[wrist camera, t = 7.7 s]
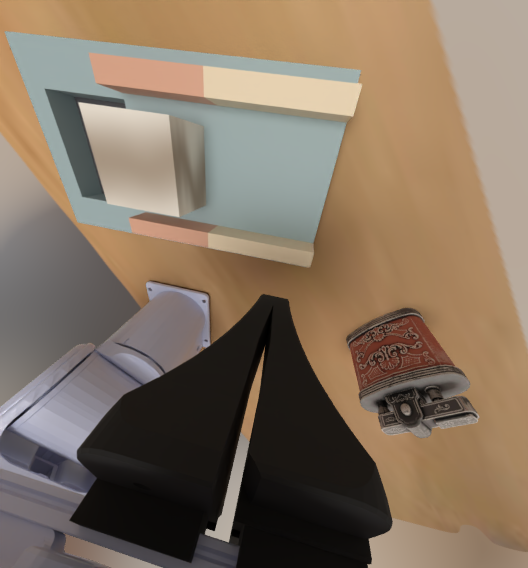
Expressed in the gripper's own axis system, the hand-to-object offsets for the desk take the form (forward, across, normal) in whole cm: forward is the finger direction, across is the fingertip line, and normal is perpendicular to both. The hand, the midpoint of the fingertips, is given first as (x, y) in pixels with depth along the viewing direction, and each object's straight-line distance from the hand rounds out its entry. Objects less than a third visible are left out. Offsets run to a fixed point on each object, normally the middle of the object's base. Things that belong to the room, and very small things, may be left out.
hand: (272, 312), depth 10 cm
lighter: (+11, -12, +8) cm, 18 cm away
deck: (+10, +9, -5) cm, 15 cm away
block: (+8, +10, -5) cm, 13 cm away
